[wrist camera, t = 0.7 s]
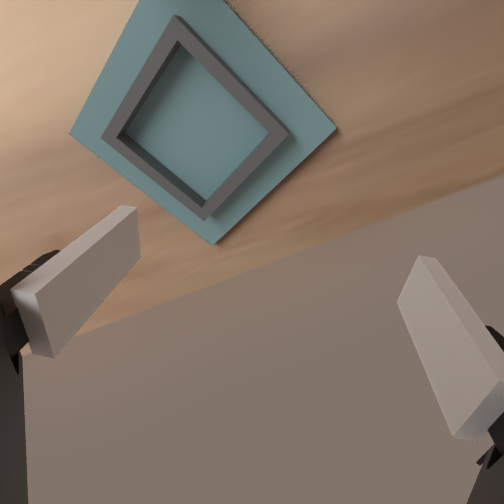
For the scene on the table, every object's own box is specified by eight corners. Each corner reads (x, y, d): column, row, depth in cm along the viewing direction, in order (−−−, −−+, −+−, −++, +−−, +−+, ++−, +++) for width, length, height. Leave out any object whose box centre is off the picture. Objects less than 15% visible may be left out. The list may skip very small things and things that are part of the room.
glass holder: (174, -56, 25) (161, -66, 23) (335, 125, 31) (339, 133, 29) (74, 131, 35) (57, 138, 32) (213, 241, 41) (208, 254, 38)
